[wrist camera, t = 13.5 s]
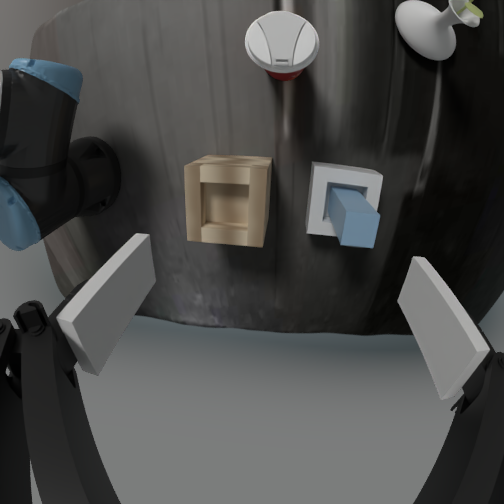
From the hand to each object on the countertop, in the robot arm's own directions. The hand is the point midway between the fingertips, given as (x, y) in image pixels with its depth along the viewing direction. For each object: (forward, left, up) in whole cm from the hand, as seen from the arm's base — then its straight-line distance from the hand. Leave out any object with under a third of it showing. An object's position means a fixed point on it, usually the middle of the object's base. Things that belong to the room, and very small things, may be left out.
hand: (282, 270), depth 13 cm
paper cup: (-1, +16, -31) cm, 35 cm away
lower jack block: (+9, -4, -31) cm, 32 cm away
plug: (+9, -4, -29) cm, 31 cm away
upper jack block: (-7, -4, -31) cm, 32 cm away
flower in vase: (+22, +28, -31) cm, 47 cm away
